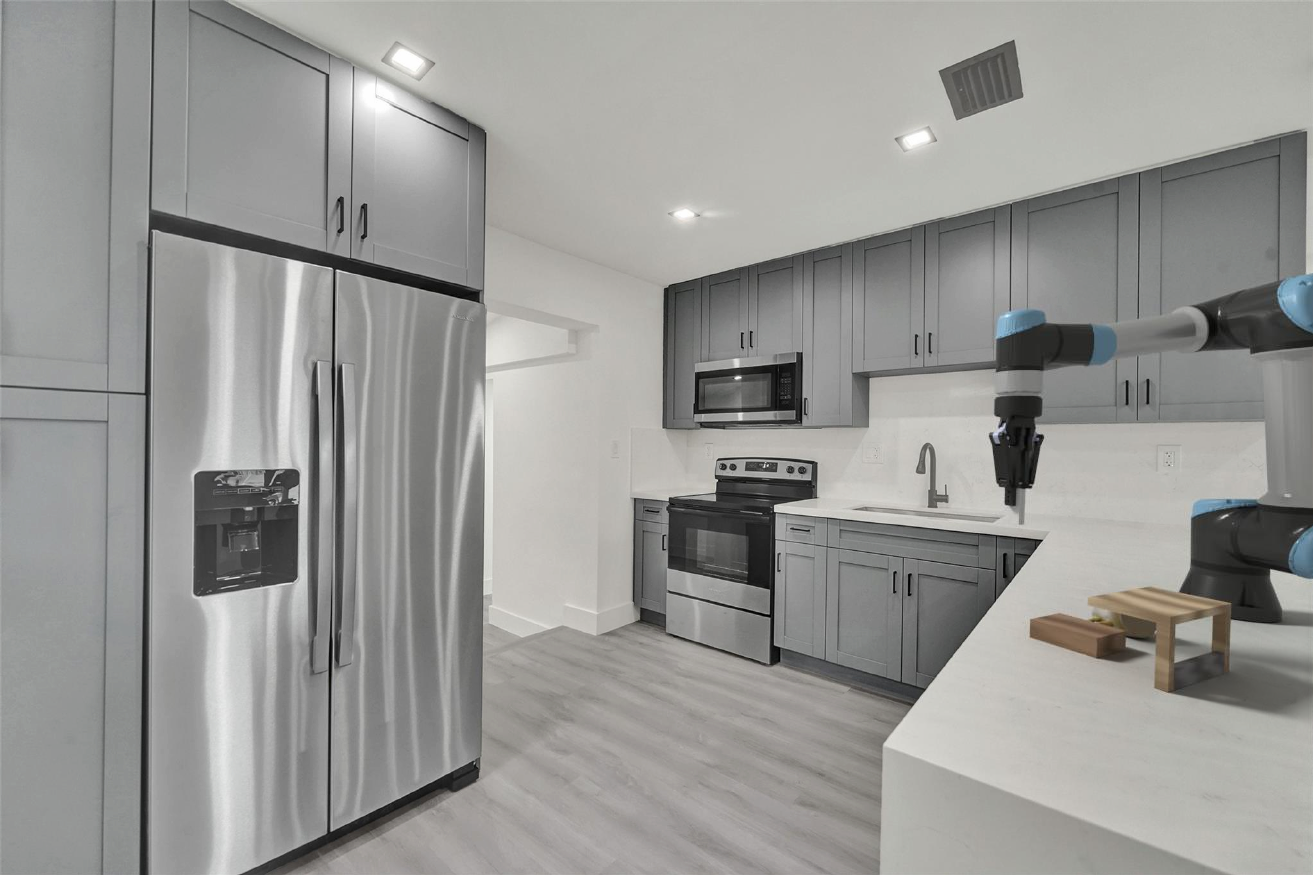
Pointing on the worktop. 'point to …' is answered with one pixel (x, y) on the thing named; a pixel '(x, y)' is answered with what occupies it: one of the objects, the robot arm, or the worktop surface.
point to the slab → (1078, 635)
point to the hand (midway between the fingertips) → (1014, 523)
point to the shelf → (1166, 614)
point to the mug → (1124, 622)
